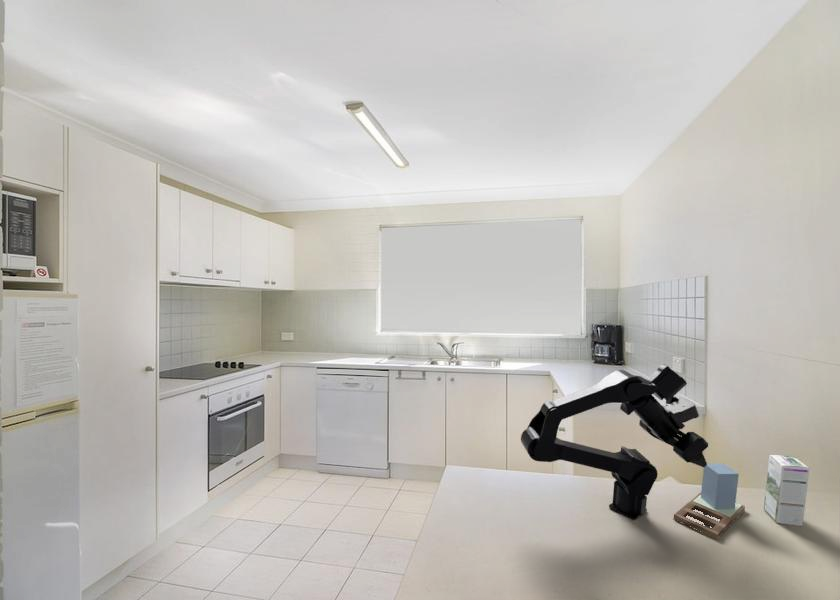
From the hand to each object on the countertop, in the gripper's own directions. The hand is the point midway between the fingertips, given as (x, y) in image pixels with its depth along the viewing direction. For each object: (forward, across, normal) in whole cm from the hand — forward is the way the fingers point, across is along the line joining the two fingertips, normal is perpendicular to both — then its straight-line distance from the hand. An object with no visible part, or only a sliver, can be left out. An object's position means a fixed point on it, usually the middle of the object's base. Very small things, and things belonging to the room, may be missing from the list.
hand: (692, 456), depth 108 cm
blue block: (+14, 0, +3) cm, 14 cm away
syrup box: (+25, -4, -5) cm, 25 cm away
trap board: (+12, -3, +7) cm, 14 cm away
